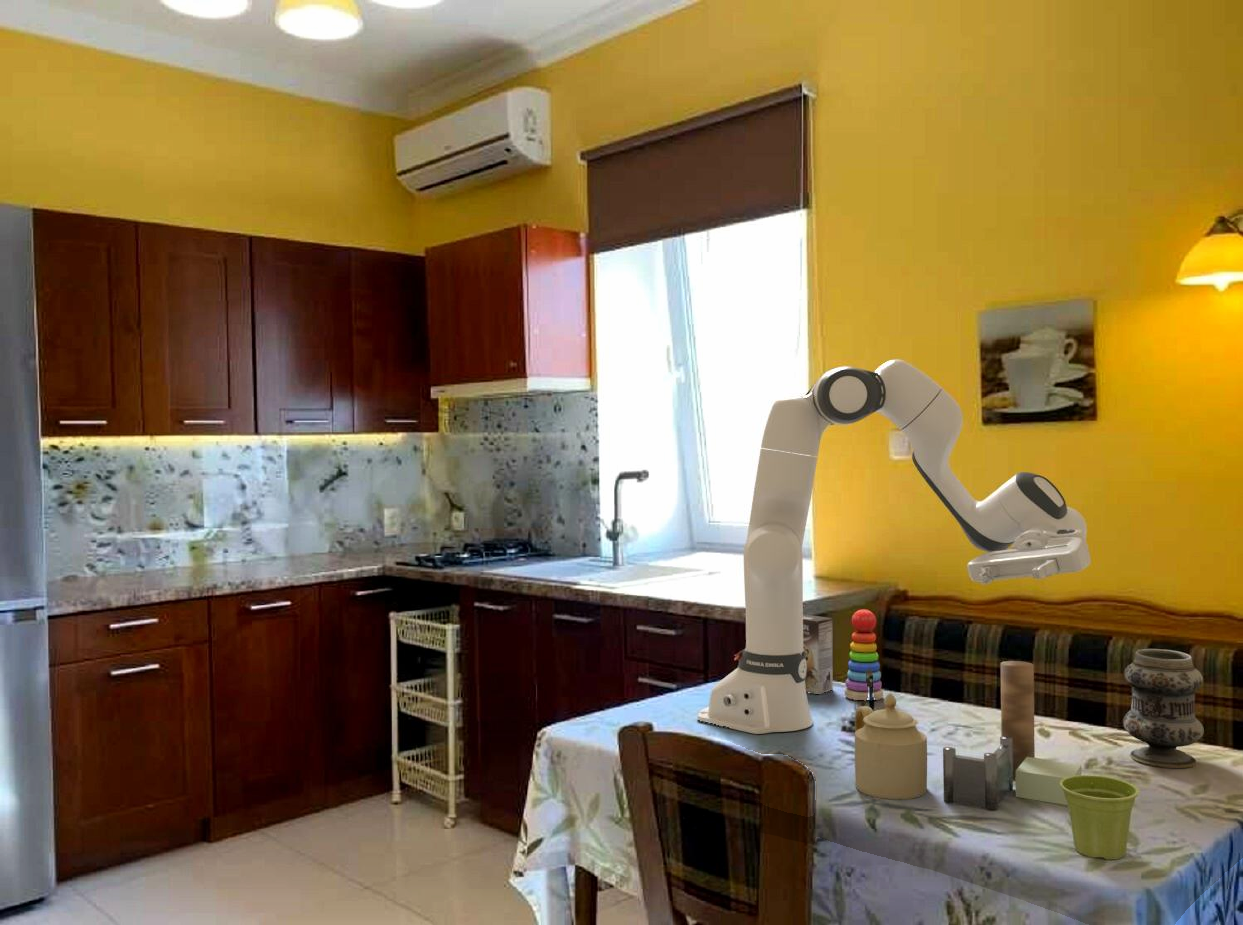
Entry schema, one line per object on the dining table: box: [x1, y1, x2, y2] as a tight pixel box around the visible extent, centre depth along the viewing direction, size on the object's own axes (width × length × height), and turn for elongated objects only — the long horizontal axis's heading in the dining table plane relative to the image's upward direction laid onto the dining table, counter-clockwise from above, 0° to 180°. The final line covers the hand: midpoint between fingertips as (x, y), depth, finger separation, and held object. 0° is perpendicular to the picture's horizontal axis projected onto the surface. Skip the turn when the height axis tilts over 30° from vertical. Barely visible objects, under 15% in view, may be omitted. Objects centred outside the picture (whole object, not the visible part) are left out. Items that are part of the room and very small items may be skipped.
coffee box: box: [803, 613, 834, 695], centre depth 226 cm, size 9×6×16 cm
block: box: [1015, 757, 1083, 806], centre depth 158 cm, size 8×8×4 cm
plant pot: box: [1060, 774, 1140, 860], centre depth 135 cm, size 9×9×9 cm
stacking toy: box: [844, 609, 884, 702], centre depth 218 cm, size 8×8×19 cm
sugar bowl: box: [854, 692, 928, 800], centre depth 163 cm, size 15×11×15 cm
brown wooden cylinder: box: [1000, 660, 1036, 780], centre depth 167 cm, size 5×5×18 cm
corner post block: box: [942, 736, 1014, 812], centre depth 158 cm, size 8×12×8 cm, turn 147°
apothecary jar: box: [1122, 648, 1205, 769], centre depth 173 cm, size 12×12×18 cm
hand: (1010, 577), depth 176 cm, fingers open, 8 cm apart
